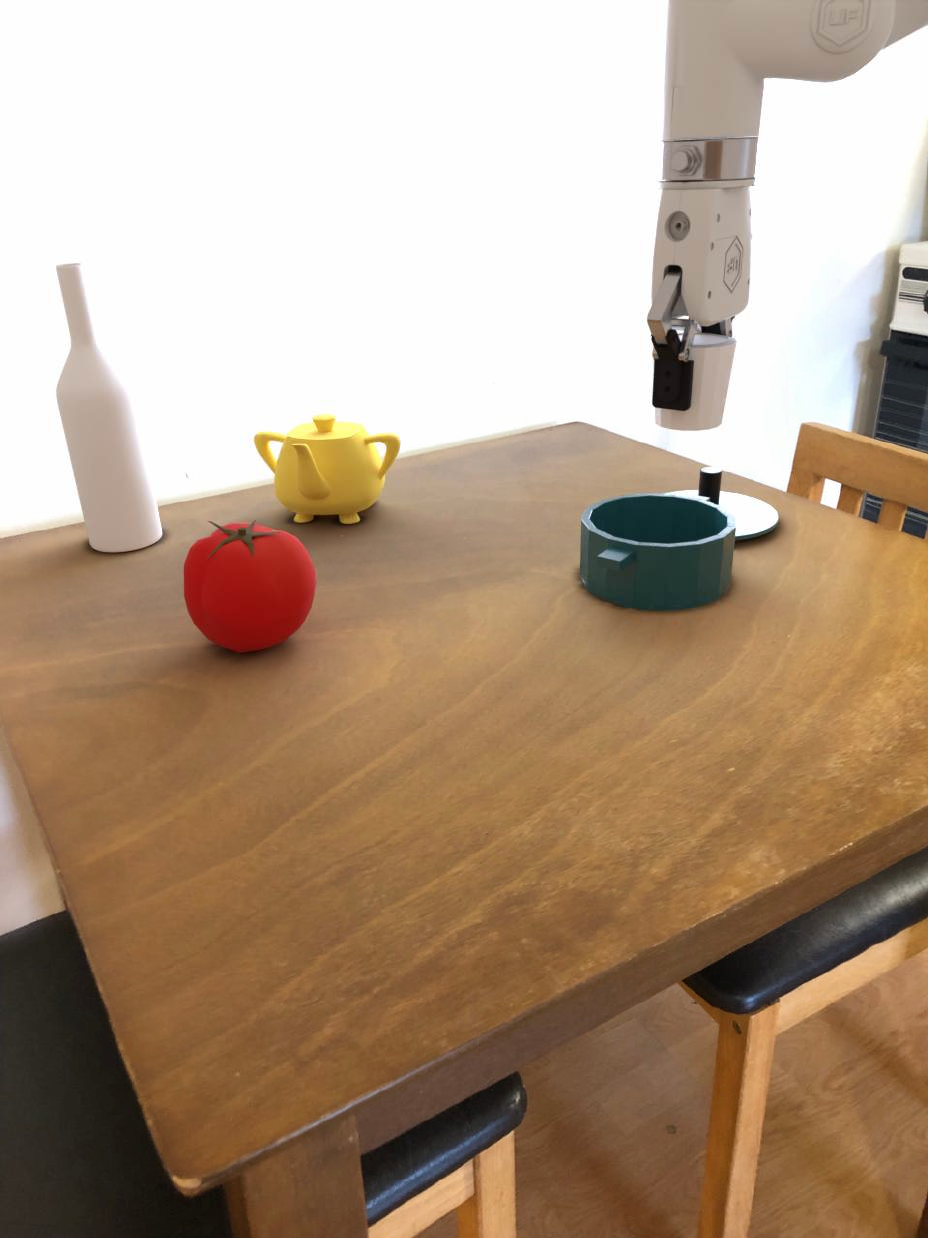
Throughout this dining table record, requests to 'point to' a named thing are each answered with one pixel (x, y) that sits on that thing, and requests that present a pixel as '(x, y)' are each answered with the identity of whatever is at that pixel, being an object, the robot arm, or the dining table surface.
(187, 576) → the tomato
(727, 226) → the robot arm
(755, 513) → the lid
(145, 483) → the bottle
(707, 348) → the white cup
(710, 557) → the pot
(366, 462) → the teapot
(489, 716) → the dining table surface
